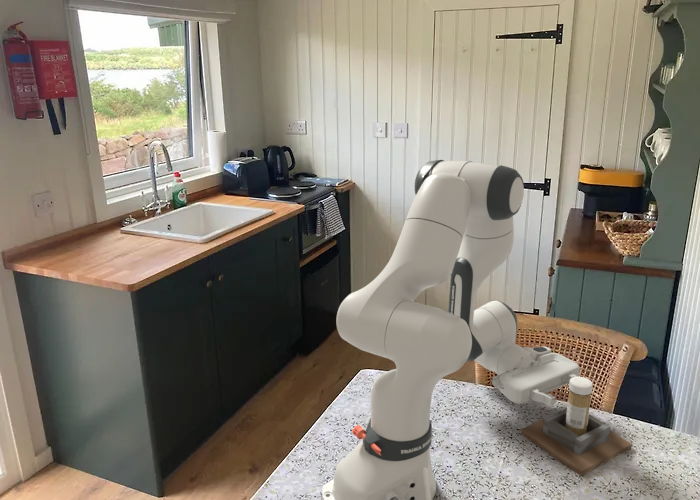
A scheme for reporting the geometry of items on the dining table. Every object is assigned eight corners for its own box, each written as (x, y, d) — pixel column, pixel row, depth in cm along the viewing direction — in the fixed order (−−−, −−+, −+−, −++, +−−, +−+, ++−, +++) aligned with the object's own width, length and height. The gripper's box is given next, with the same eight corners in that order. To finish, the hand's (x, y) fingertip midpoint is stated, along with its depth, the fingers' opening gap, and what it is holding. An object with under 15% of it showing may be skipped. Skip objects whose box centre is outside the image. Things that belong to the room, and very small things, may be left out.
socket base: (580, 476, 113) (583, 456, 112) (520, 433, 126) (521, 415, 125) (631, 448, 121) (634, 429, 120) (569, 411, 134) (571, 393, 133)
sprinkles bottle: (589, 435, 123) (597, 381, 119) (580, 445, 120) (587, 389, 116) (569, 426, 127) (575, 373, 122) (559, 435, 124) (565, 381, 119)
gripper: (487, 367, 128) (535, 397, 117) (551, 344, 138) (600, 369, 127) (486, 392, 130) (533, 423, 119) (548, 367, 140) (597, 394, 129)
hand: (568, 395), depth 123 cm, fingers open, 8 cm apart
